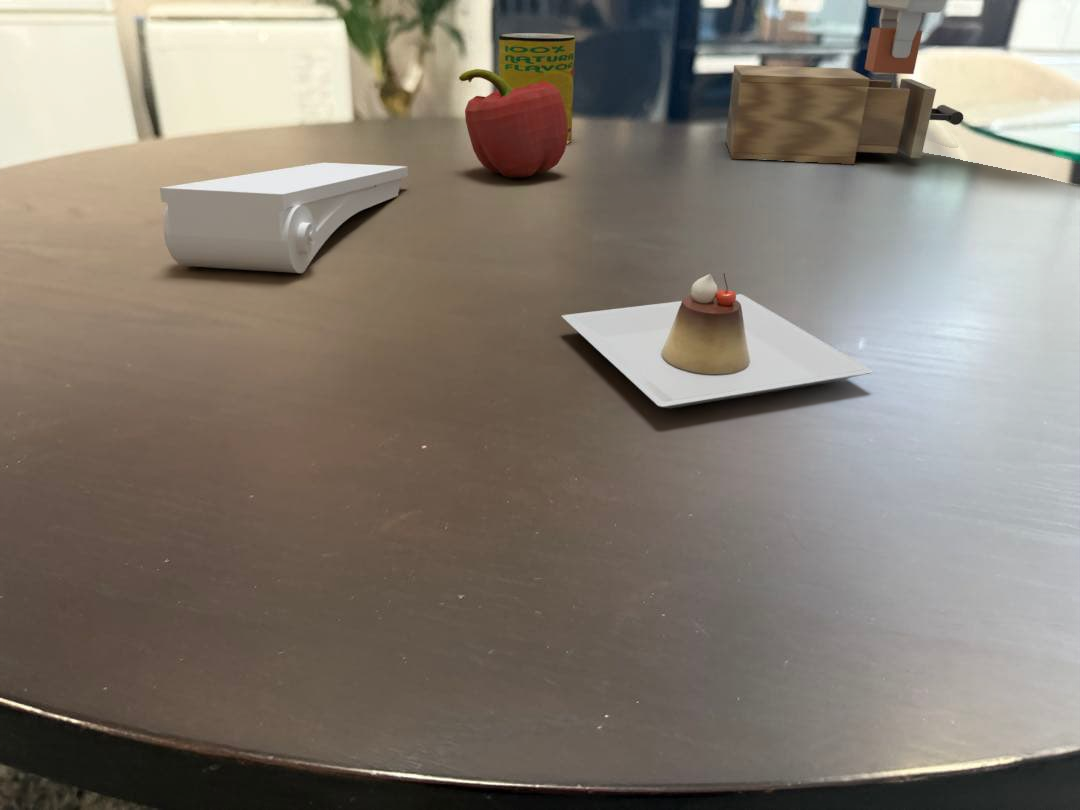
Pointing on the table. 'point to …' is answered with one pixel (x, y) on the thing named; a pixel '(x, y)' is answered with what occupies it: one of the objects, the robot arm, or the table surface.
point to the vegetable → (516, 126)
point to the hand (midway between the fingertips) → (892, 55)
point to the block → (881, 57)
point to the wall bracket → (270, 214)
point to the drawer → (900, 117)
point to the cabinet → (796, 113)
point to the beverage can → (539, 63)
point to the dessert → (711, 348)
